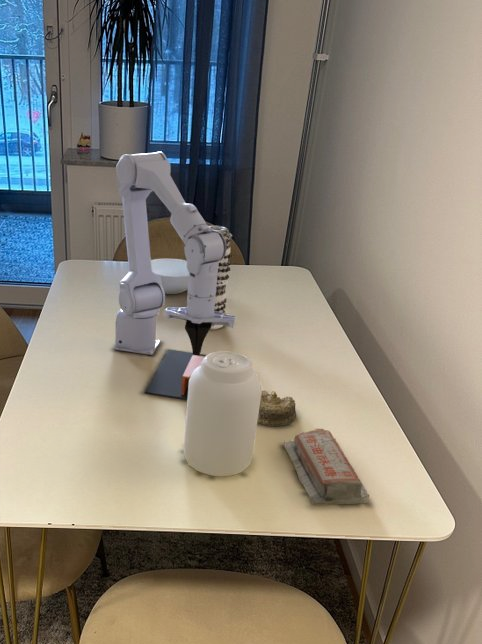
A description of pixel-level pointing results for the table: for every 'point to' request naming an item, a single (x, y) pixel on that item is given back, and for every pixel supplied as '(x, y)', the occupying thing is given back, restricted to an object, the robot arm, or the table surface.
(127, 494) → the table surface
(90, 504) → the table surface
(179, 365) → the mat
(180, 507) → the table surface
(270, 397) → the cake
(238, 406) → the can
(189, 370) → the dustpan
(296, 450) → the packaged product
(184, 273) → the cereal bowl
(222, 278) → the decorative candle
